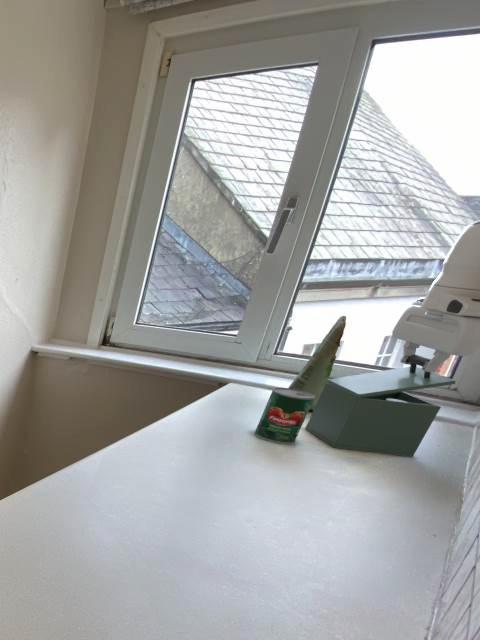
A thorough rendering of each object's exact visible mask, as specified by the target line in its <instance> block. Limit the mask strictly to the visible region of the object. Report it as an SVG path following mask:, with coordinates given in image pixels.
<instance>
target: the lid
mask: <svg viewBox="0 0 480 640" xmlns="http://www.w3.org/2000/svg"><path fill="white" fill-rule="evenodd" d="M431 359H432V358H428V357H424V356H421V355H418V354H415V355H411V356H410V357H409V358H408V361H409V362H411V365H410V366H406V367H399V368H392V369H385V370H380V371H373V372H366V373H360V374H354V375H353V374H352V375H347V376H346V375H345V376H340V377H334V378H329V379H327V383H329V384H331V385H333V386H335V387H337V388H340V389H342V390H344V391H346V392H348V393H350V394H352V395H354V396H356V397H358V398H361V397H368V396H375V395H382V394H389V393H396V392H403V391H404V392H409V391H416V390H423V389H432V388H437V387H444V386H451V385H456V382H457V380H456V379H452V378H449V377H446V376H444V375H441V374H437V373H436V372H426V371H424V370H422V367H423V366H424V363H425V362H429V361H430V360H431ZM417 366H419V367H417ZM420 367H421V368H420Z"/></svg>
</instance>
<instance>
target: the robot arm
mask: <svg viewBox="0 0 480 640" xmlns="http://www.w3.org/2000/svg"><path fill="white" fill-rule="evenodd" d="M441 268H442V269H441V271H440V274H439V275H438V276H437V277H436V279H434V281H433V282H432V284H431V285H430V288H429V289H428V291H427V293H426V294H425V296H423V297H419V298H418V299H416V300H415V301H413V302H412V304H411V305H409V306H408V307H407V308H406V309H405V311H404V312H403V313H402V315H401V316H400V317H399V319H398V321H397V322H396V324H395V325H394V328H393V329H392V333H391V335H392V338H395V339H397V340H401V341H405V343H404V344H403V351H402V352H403V353H402V354H403V355H402V357H401V359H400V363H401V364H404V365H410V366H411V362H409V361H408V358H409V357H410V356H411V355H416V353H417V349H419V348H420V347H423V348H427V349H431V350H434V352H433V354H432V356H433V357H432V358H430V359H431V360H430V361H429V362H425V363H424V366H423V367H422V366H421V369H422V370H424V371H426V372H432V373H436V372H437V370H438V369H439V367H440V366H441V365H442V364H443V363H444V362H446V361H447V360H448V359H450V358H451V356H457V357H467V358H469V357H473V356H475V355H476V354H477V353H478V352H479V351H480V219H478V220H475V221H473V222H471V223H469V224H468V225H467V226H466V227H464V229H463V230H462V231H461V232H460V234H459V235H458V238H457V239H456V240H455V241H454V243H453V245H452V246H451V248H450V250H449V251H448V254H447V255H446V257H445V259H444V261H443V263H442V267H441Z"/></svg>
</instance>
